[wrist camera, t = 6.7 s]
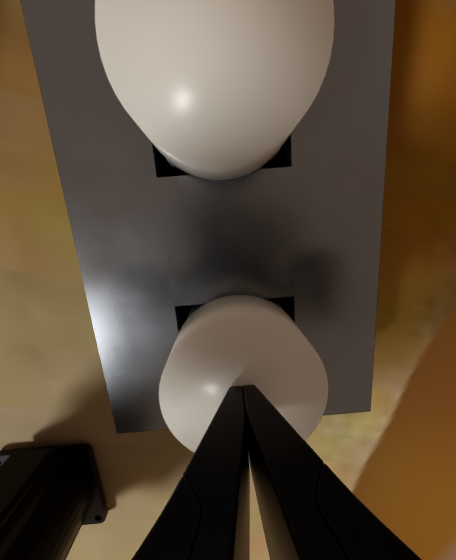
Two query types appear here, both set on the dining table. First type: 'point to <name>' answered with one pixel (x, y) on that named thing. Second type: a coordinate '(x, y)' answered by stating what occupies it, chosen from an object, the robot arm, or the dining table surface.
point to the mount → (222, 211)
